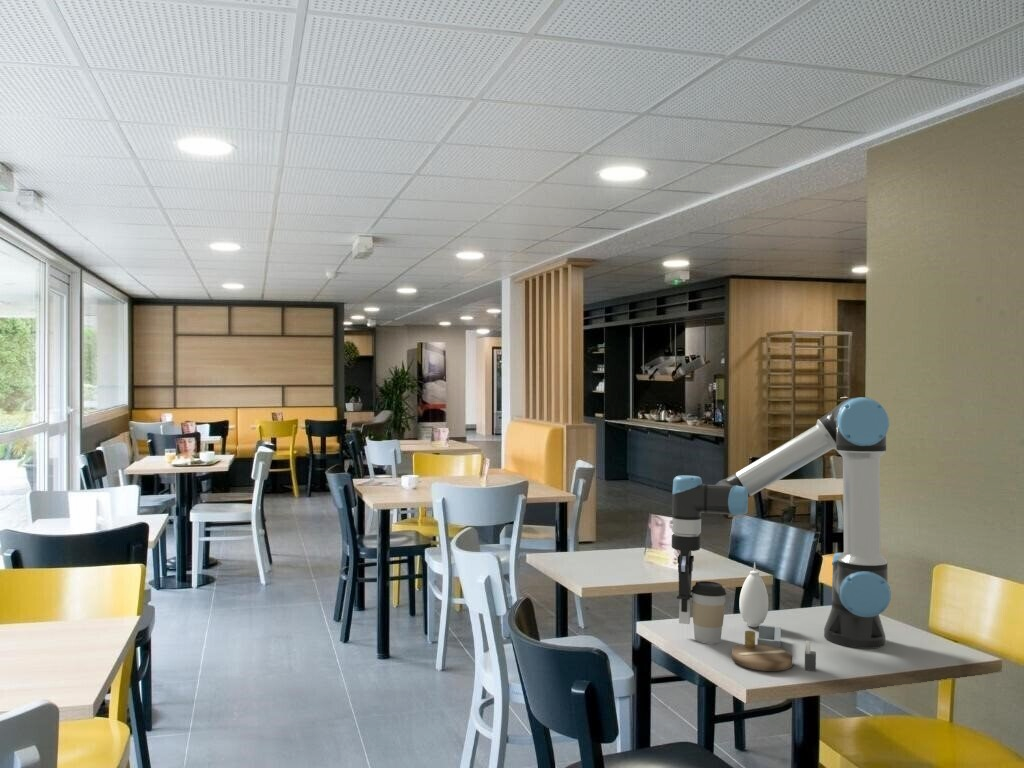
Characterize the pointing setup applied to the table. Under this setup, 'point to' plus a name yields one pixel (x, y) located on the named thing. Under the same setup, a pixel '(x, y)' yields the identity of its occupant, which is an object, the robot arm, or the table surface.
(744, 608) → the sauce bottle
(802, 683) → the table surface
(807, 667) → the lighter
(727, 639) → the table surface
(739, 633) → the table surface
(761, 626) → the pocket stop
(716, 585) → the coffee cup
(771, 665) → the disc
